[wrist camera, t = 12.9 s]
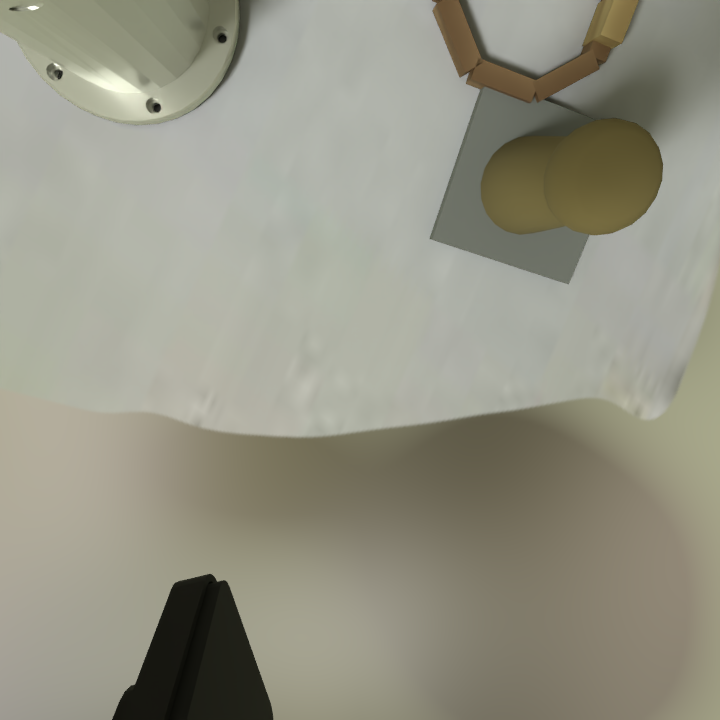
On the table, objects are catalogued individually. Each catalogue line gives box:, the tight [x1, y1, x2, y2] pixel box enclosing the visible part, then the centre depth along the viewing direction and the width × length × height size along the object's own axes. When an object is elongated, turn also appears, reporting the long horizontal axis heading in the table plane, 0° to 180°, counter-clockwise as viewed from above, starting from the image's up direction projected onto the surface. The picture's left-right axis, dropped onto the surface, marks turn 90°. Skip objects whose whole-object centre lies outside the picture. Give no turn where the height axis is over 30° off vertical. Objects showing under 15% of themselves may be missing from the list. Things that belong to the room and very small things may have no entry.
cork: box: [481, 118, 663, 235], centre depth 28 cm, size 6×6×11 cm
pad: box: [430, 86, 596, 284], centre depth 34 cm, size 10×10×1 cm
